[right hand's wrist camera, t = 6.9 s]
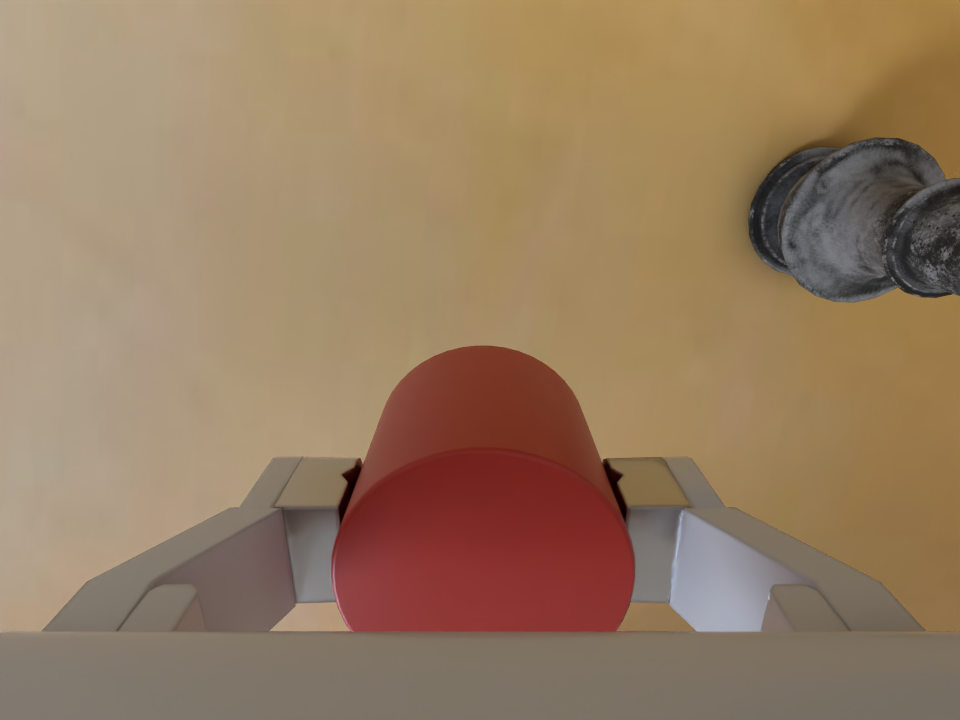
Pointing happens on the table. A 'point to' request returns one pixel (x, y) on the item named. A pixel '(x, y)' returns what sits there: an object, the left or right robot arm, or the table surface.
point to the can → (483, 507)
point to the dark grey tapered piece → (861, 221)
